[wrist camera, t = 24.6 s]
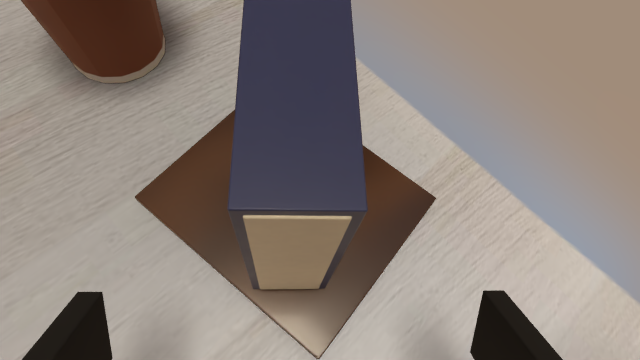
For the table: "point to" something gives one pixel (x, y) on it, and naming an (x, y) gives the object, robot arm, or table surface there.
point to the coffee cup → (104, 35)
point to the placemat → (225, 255)
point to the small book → (296, 142)
